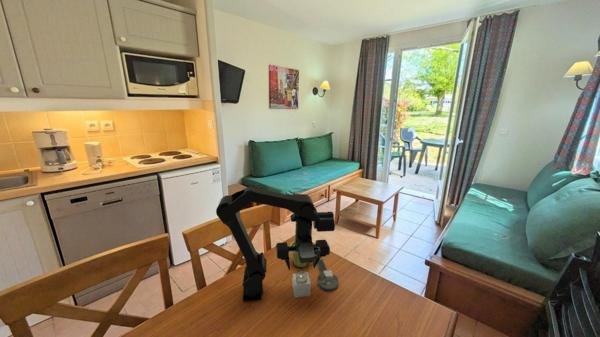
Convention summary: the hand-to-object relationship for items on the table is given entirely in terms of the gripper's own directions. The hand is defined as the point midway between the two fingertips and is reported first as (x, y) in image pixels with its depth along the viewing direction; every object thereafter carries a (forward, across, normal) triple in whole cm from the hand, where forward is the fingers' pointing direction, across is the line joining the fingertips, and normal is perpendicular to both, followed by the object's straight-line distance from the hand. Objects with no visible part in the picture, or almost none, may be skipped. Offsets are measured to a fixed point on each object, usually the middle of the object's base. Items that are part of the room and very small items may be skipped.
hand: (301, 268), depth 87 cm
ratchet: (+10, +11, +6) cm, 16 cm away
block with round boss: (+10, 0, 0) cm, 10 cm away
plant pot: (+10, +3, +15) cm, 19 cm away
